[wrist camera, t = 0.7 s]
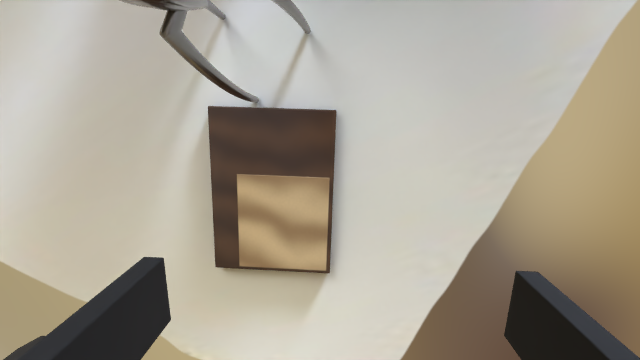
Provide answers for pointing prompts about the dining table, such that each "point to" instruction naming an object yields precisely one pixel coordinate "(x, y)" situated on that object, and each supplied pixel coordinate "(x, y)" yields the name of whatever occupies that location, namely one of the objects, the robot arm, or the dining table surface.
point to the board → (272, 187)
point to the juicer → (177, 6)
